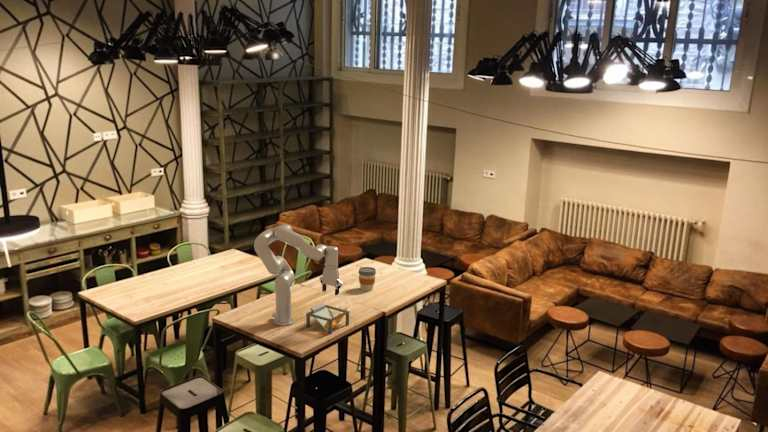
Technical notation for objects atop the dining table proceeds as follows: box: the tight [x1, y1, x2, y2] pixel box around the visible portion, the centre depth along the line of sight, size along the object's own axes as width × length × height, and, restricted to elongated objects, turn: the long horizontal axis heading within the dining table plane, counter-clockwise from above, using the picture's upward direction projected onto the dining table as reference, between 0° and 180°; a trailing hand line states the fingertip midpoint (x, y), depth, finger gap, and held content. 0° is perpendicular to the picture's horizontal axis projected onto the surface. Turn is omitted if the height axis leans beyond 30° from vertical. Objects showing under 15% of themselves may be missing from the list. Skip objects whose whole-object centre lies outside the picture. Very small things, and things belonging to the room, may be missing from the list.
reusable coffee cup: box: [358, 266, 377, 292], centre depth 494 cm, size 12×13×15 cm
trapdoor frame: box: [305, 304, 350, 335], centre depth 426 cm, size 19×19×9 cm
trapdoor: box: [309, 302, 343, 332], centre depth 426 cm, size 18×15×3 cm
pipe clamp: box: [325, 312, 344, 329], centre depth 423 cm, size 12×4×6 cm
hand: (330, 293), depth 420 cm, fingers open, 9 cm apart
